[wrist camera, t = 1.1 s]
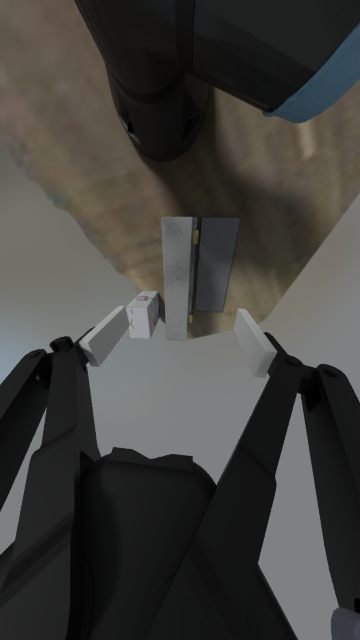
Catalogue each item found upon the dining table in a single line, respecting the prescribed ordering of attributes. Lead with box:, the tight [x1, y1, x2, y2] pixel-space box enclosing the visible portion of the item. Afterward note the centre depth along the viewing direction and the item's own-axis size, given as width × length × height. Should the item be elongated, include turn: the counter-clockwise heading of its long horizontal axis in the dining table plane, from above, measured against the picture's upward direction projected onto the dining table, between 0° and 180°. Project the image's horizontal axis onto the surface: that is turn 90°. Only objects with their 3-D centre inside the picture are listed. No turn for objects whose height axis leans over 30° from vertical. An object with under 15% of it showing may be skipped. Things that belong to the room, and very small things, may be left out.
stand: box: [161, 217, 199, 323], centre depth 31 cm, size 24×6×10 cm, turn 179°
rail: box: [161, 217, 192, 341], centre depth 25 cm, size 20×4×7 cm, turn 179°
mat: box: [195, 217, 240, 312], centre depth 34 cm, size 22×8×1 cm, turn 179°
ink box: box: [126, 291, 160, 339], centre depth 35 cm, size 8×5×12 cm, turn 179°
